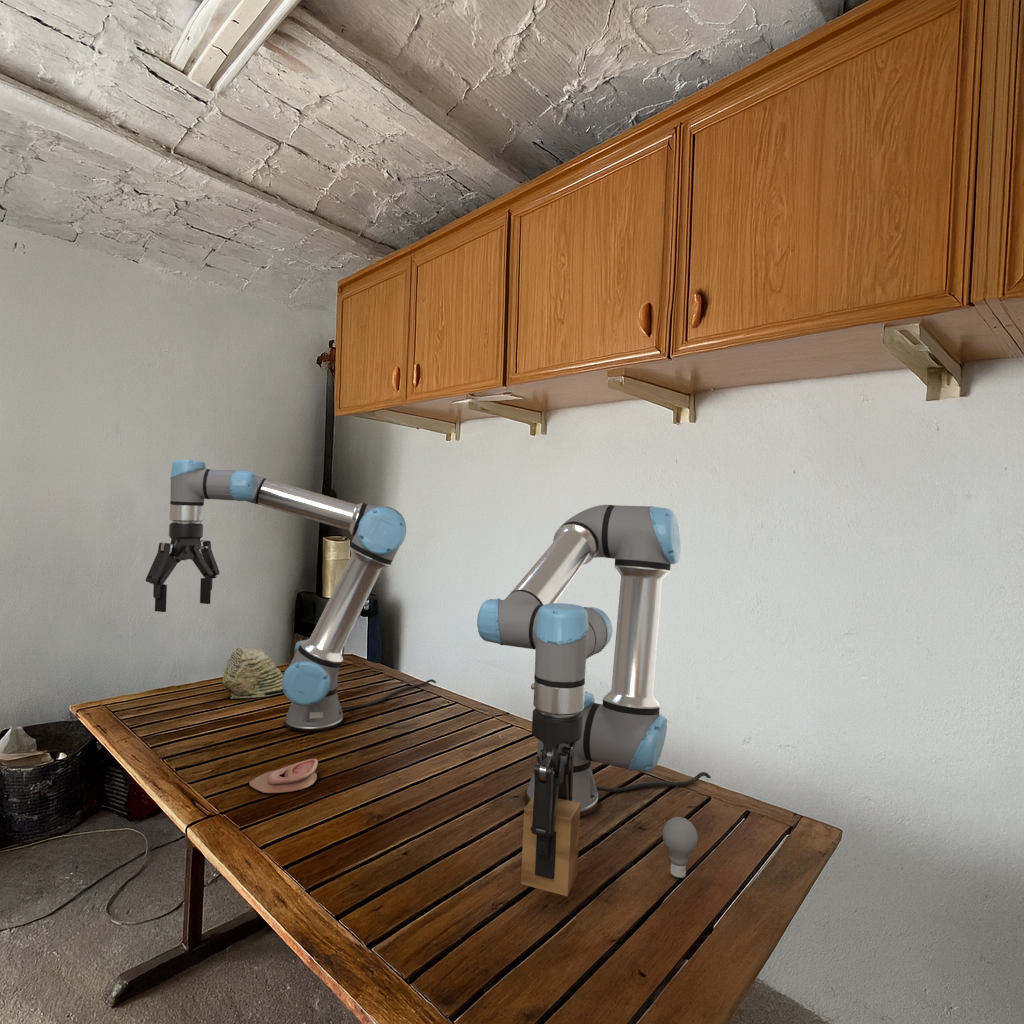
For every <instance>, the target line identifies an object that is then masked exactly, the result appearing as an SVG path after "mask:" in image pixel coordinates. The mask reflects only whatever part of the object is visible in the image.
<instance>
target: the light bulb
mask: <svg viewBox="0 0 1024 1024" xmlns="http://www.w3.org/2000/svg"><path fill="white" fill-rule="evenodd" d="M661 833H662V834H661V835H662V841H663V843H664V845H665V847H666V850H667V852H668V858H669V861H670V874H671V875H672V876H673V877H675V878H678V879H679V878H680V879H681V878H685V877H686V875H687V864H688V863H689V860H690V857H691V855H692V854H693V852H694V851H695V850H696V847H697V845H698V841H699V837H698V831H697V829H696V827H695V825H694V824H693V823H692V822H691V821H690V820H689V819H687V818H685V817H682V816H674V817H672V818H670V819H669V820H667V821H666V823H665V824H664V826H663V828H662V831H661Z"/></svg>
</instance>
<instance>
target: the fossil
mask: <svg viewBox="0 0 1024 1024" xmlns="http://www.w3.org/2000/svg"><path fill="white" fill-rule="evenodd" d="M222 676H223V677H222V685H223V687H224V688H225V690H226V691H228V693H229V698H230V699H250V698H264V697H271V696H275V695H281V694H284V692H283V689H282V679H283V673H282V672H281V669H279V668H278V667H277V665H276V663H275V662H274V660H273V659H272V658H271V657H270V656H269V655H268V654H267V653H266V652H265V650H264V649H263V648H260V647H258V648H251V647H247V646H246V647H245V646H238V647H237V648H236V649H235V650H233V651H232V653H231V656H230V657H229V659H228V660H227V663H226V666H225V668H224V671H223V675H222Z"/></svg>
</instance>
